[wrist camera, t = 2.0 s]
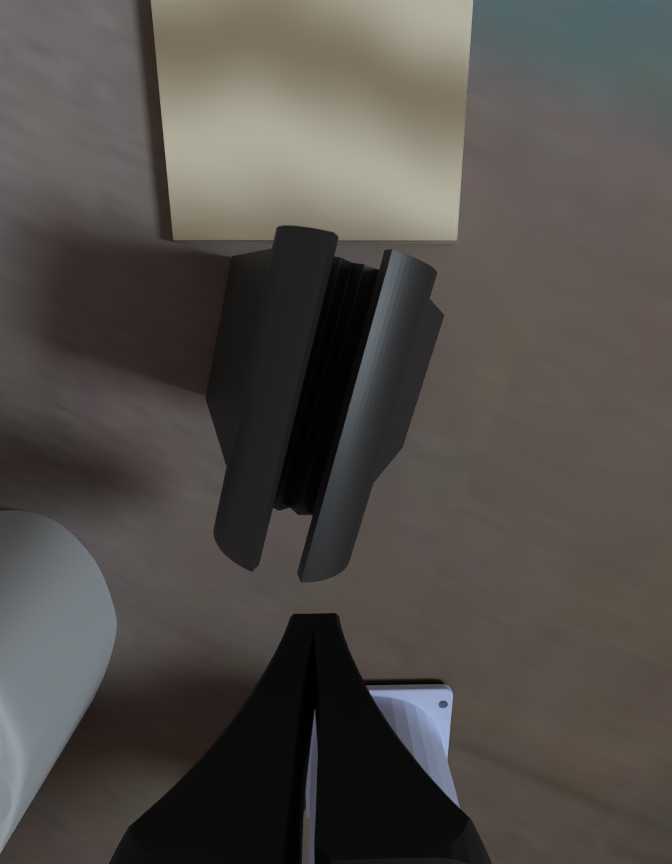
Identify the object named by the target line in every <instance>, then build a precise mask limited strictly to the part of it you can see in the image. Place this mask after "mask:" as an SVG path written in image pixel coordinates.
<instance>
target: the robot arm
mask: <svg viewBox="0 0 672 864" xmlns="http://www.w3.org/2000/svg"><path fill="white" fill-rule="evenodd" d="M452 699H453V694H452V691H451V688H450V687H449V686H448V685H446V684H418V685H365V683H364V681H363V679H362V677H361V675H360V673H359V671H358V669H357V667H356V665H355V662H354V660H353V658H352V656H351V653H350V651H349V649H348V646H347V643H346V641H345V638H344V635H343V632H342V628H341V624H340V619H339V616H338V615H337V614H336V613H323V614H293V615H292V616H291V617H290V620H289V623H288V626H287V628H286V631H285V633H284V635H283V638H282V640H281V642H280V644H279V646H278V648H277V650H276V652H275V654H274V656H273V658H272V659H271V661H270V663H269V665H268V667H267V669H266V670H265V672H264V674H263V675H262V677H261V679H260V680H259V682H258V683H257V685H256V687H255V688H254V690H253V691H252V693H251V695H250V696H249V698H248V699H247V701H246V702H245V703H244V705H243V706H242V708H241V709H240V711H239V712H238V713H237V715H236V716H235V717H234V719H233V720H232V721H231V723H230V724H229V725H228V726H227V728H226V729H225V730H224V731H223V733H222V734H221V735H220V736H219V737H218V739H217V740H216V741H215V742H214V744H213V745H212V746H211V747H210V748H209V749H208V751H207V752H206V753H205V754H204V755H203V756H202V757H201V758H200V759H199V760H198V762H197V763H196V764H195V765H194V766H193V767H192V768H191V769H190V770H189V771H188V772H187V773H186V774H185V775H184V776H183V777H182V778H181V779H180V780H179V781H178V782H177V783H176V784H175V785H174V786H173V787H172V788H171V789H170V790H169V791H168V792H167V793H166V794H165V795H164V796H163V797H162V798H161V799H160V800H158V801H157V802H156V803H155V804H154V805H153V806H152V807H151V808H150V809H148V810H147V811H146V812H145V813H144V814H143V815H142V816H141V817H140V818H138V819H137V820H136V821H135V822H134V823H133V824H132V825H130V826H129V827H128V829H127V831H126V832H125V834H124V836H123V838H122V840H121V841H120V843H119V845H118V847H117V849H116V851H115V853H114V855H113V857H112V859H111V861H110V863H109V864H302V838H303V814H304V802H305V791H306V816H307V818H308V819H309V840H308V864H492V863H491V861H490V858H489V856H488V853H487V851H486V849H485V847H484V845H483V842H482V840H481V838H480V836H479V834H478V832H477V830H476V828H475V826H474V824H473V822H472V820H471V819H470V818H469V817H468V816H467V815H466V814H465V813H464V812H463V811H462V810H461V809H460V806H459V803H458V799H457V795H456V791H455V788H454V784H453V780H452V777H451V773H450V769H449V765H448V762H447V756H448V745H449V733H450V722H451V711H452ZM440 701H443V702H440Z"/></svg>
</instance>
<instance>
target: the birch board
mask: <svg viewBox="0 0 672 864" xmlns="http://www.w3.org/2000/svg"><path fill="white" fill-rule="evenodd" d="M151 8H152V19H153V29H154V40H155V51H156V61H157V72H158V83H159V93H160V104H161V115H162V125H163V136H164V147H165V157H166V168H167V178H168V189H169V200H170V210H171V221H172V232H173V240H174V241H176V242H179V243H273V241H274V236H275V232H276V228H277V227H278V226H283V225H293V226H303V227H310V228H316V229H321V230H326V231H331V232H334V233H335V234H336V235H337V236H338V237H339V238H338V242H337V243H353V244H451V243H453V242H455V241H457V232H458V217H459V202H460V187H461V172H462V157H463V143H464V128H465V113H466V98H467V83H468V68H469V54H470V39H471V24H472V9H473V0H151Z"/></svg>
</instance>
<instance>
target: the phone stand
mask: <svg viewBox="0 0 672 864" xmlns="http://www.w3.org/2000/svg"><path fill="white" fill-rule="evenodd" d="M338 238H339V237H338V236H337V235H336V234H335V233H334V232H331V231H326V230H321V229H316V228H310V227H303V226H293V225H283V226H278V227H277V228H276V232H275V236H274V241H273V246H272V249H268V250H262V251H257V252H252V253H247V254H242V255H237V256H232V260H231V265H230V271H229V276H228V281H227V287H226V292H225V298H224V303H223V308H222V314H221V319H220V324H219V330H218V335H217V341H216V346H215V351H214V357H213V362H212V367H211V373H210V378H209V384H208V389H207V394H206V401H207V404H208V408H209V411H210V414H211V417H212V421H213V424H214V427H215V430H216V434H217V437H218V440H219V443H220V447H221V450H222V453H223V456H224V459H225V463H226V466H227V468H226V472H225V477H224V482H223V487H222V492H221V496H220V501H219V506H218V511H217V516H216V521H215V525H214V538H215V541H216V543H217V545H218V546H219V548H220V549H221V551H222V552H223V553H224V554H225V555H226V556H227V557H228V558H230V559H231V560H232V561H234V562H235V563H236V564H238V565H240V566H241V567H243V568H245V569H247V570H249V571H251V572H252V571H253V570H254V569H255V568H256V567H257V566H258V565H259V562H260V558H261V554H262V550H263V546H264V542H265V538H266V534H267V529H268V525H269V521H270V517H271V513H272V509H273V508H275V509H277V510H279V511H280V510H283V509H286V508H291V509H292V510H293V511H295V512H296V513H297V514H298V515H313V517H312V520H311V524H310V528H309V532H308V535H307V539H306V543H305V546H304V550H303V554H302V557H301V561H300V565H299V568H298V572H297V573H298V576H299V579H300V581H301V582H315V581H321V580H325V579H328V578H331V577H334V576H336V575H337V574H339V573H340V572H342V571H343V570H344V569H345V568H346V567H347V565H348V564H349V561H350V558H351V555H352V551H353V548H354V545H355V542H356V538H357V535H358V532H359V528H360V525H361V522H362V519H363V515H364V512H365V509H366V505H367V502H368V499H369V496H370V492H371V489H372V486H373V483H374V482H375V480H376V479H377V478H378V477H379V475H380V474H381V473H382V472H383V471H384V469H385V468H386V467H387V466H388V464H389V463H390V462H391V461H392V460H393V458H394V457H395V456H396V455H397V453H398V452H399V451H400V450H401V449H402V447H403V444H404V441H405V438H406V435H407V431H408V428H409V425H410V422H411V419H412V416H413V412H414V409H415V406H416V403H417V400H418V397H419V393H420V390H421V387H422V384H423V381H424V378H425V374H426V371H427V368H428V365H429V362H430V359H431V355H432V352H433V349H434V346H435V343H436V340H437V337H438V333H439V330H440V327H441V324H442V321H443V318H444V315H443V313H442V312H441V311H440V310H439V309H438V308H437V307H436V305H435V304H434V303H433V302H432V301H431V300H430V295H431V292H432V289H433V285H434V282H435V279H436V276H437V271H436V270H435V269H434V268H433V267H431V266H430V265H428V264H426V263H424V262H422V261H420V260H418V259H416V258H414V257H412V256H409V255H407V254H404V253H402V252H399V251H396V250H394V249H390V250H385V251H384V255H383V259H382V262H381V266H380V270H378V269H375V268H373V267H370V266H367V265H364V264H357V263H351V262H349V261H347V260H345V259H343V258H339V257H334V254H335V250H336V246H337V242H338Z"/></svg>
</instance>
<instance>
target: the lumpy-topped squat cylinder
mask: <svg viewBox="0 0 672 864" xmlns="http://www.w3.org/2000/svg"><path fill="white" fill-rule="evenodd" d="M116 628H117V621H116V615H115V610H114V607H113V603H112V600H111V597H110V593H109V591H108V588H107V585H106V582H105V580H104V577H103V575H102V573H101V571H100V569H99V567H98V565H97V564H96V562H95V561H94V559H93V558H92V556H91V555H90V554H89V552H88V551H87V550H86V549H85V547H84V546H83V545H82V544H81V543H80V542H79V541H78V540H77V539H76V538H75V537H74V536H73V535H72V534H71V533H70V532H69V531H68V530H67V529H65V528H64V527H63V526H61V525H60V524H59V523H57V522H55V521H53V520H51V519H49V518H47V517H45V516H42V515H39V514H36V513H32V512H28V511H21V510H4V511H0V853H1V851H2V850H3V848H4V846H5V845H6V843H7V841H8V840H9V838H10V836H11V835H12V833H13V831H14V830H15V828H16V826H17V825H18V823H19V822H20V820H21V818H22V817H23V815H24V813H25V812H26V810H27V808H28V807H29V805H30V803H31V802H32V800H33V798H34V797H35V795H36V793H37V792H38V790H39V788H40V787H41V785H42V784H43V782H44V780H45V779H46V777H47V775H48V774H49V772H50V770H51V769H52V767H53V765H54V764H55V762H56V760H57V759H58V757H59V756H60V754H61V752H62V751H63V749H64V747H65V746H66V744H67V742H68V741H69V739H70V737H71V736H72V734H73V732H74V731H75V729H76V727H77V726H78V724H79V722H80V721H81V719H82V718H83V716H84V714H85V713H86V711H87V709H88V708H89V706H90V704H91V703H92V701H93V699H94V697H95V694H96V692H97V690H98V688H99V686H100V684H101V682H102V680H103V677H104V675H105V672H106V669H107V667H108V664H109V660H110V657H111V653H112V650H113V646H114V641H115V636H116Z"/></svg>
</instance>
